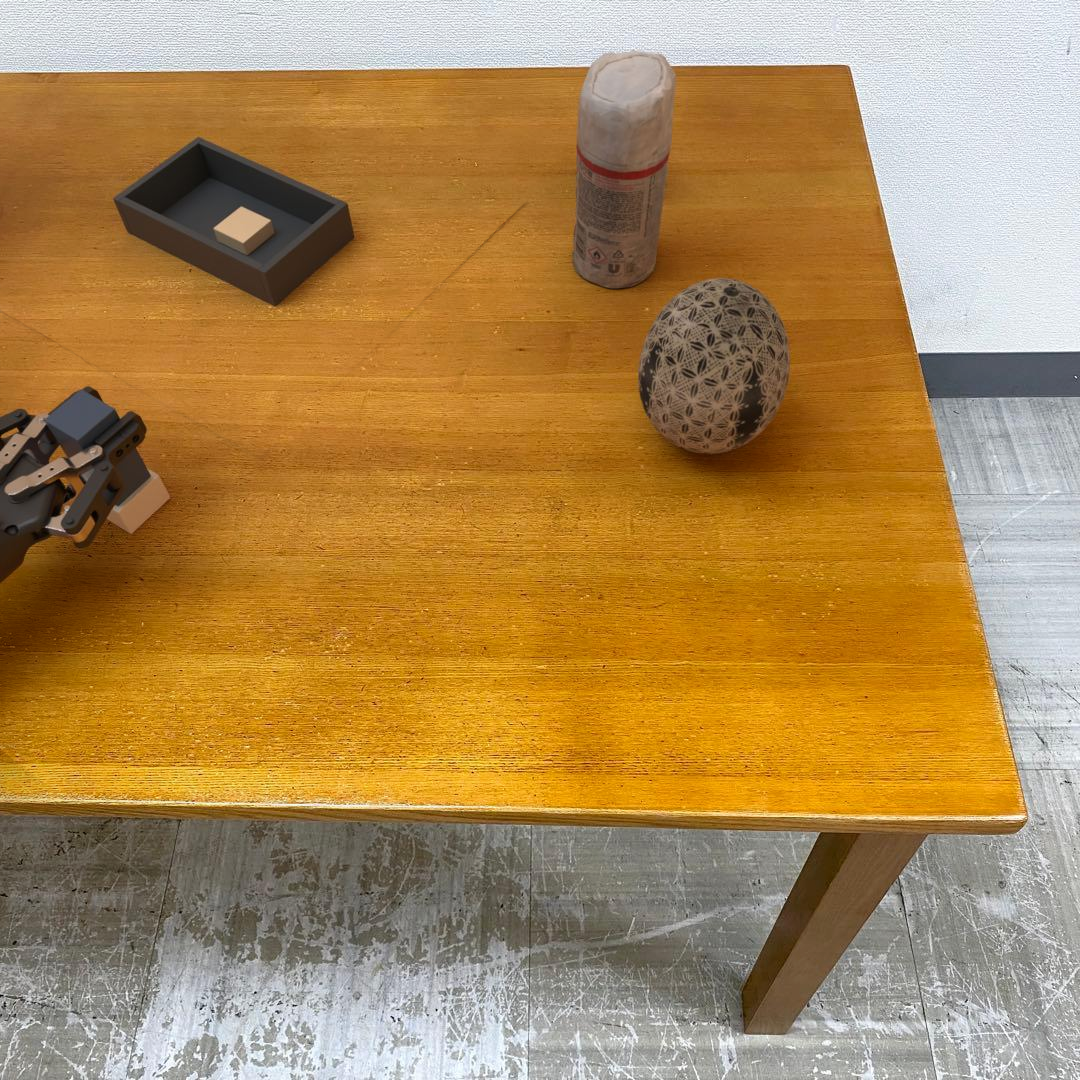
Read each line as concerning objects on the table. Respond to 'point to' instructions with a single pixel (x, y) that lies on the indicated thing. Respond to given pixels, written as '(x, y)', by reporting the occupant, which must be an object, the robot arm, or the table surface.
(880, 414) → the table surface
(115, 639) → the table surface
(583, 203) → the spray can
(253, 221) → the beige square block
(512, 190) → the table surface
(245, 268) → the bin
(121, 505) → the two-tone block stamp
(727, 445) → the decorative egg
